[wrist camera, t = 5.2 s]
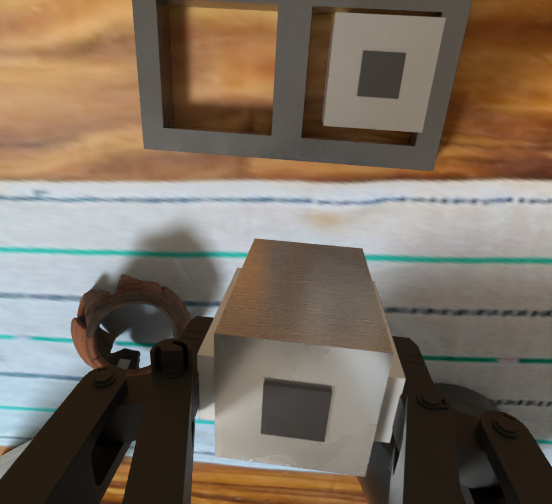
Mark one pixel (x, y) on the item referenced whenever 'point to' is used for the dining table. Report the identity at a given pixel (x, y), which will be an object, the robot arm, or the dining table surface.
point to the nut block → (301, 359)
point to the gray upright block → (380, 71)
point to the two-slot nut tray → (293, 85)
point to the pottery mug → (99, 343)
